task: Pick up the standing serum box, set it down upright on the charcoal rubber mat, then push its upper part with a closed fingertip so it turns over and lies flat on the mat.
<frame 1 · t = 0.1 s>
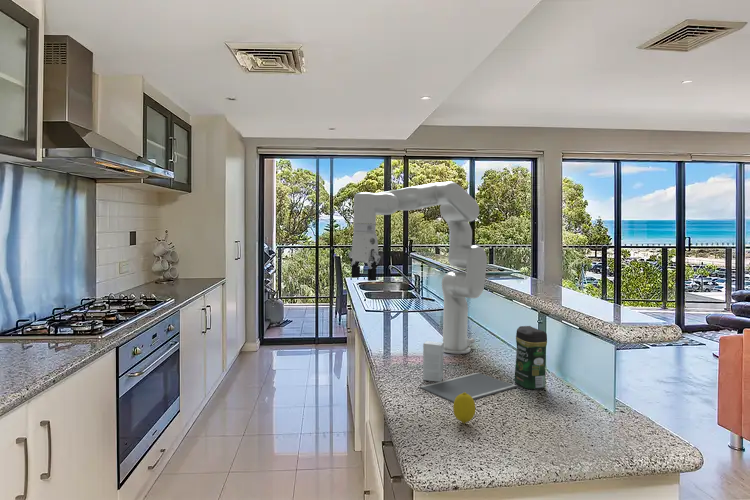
hand: (363, 279, 165), 31 cm above the counter, tool pointing down, fingers open, 9 cm apart
skincare box: (432, 379, 157), on the counter
lemon: (463, 424, 122), on the counter
coffee jar: (529, 385, 152), on the counter
mat: (468, 387, 149), on the counter
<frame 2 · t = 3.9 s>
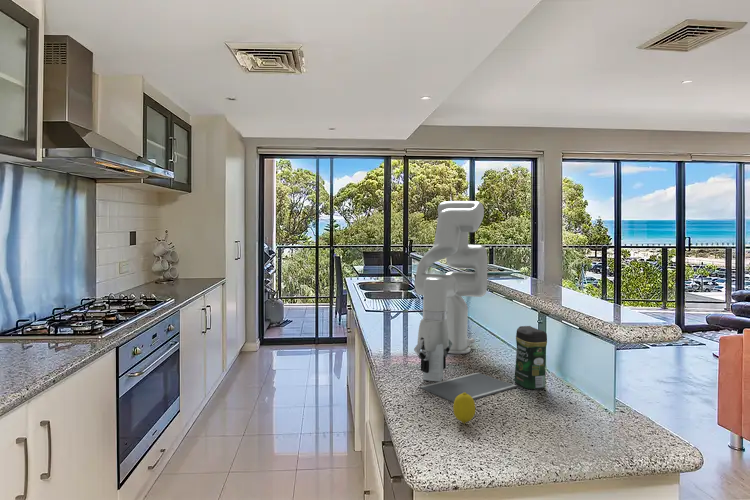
hand: (433, 369, 156), 3 cm above the counter, tool pointing down, fingers closed on skincare box, 6 cm apart
skincare box: (432, 379, 157), on the counter, touching gripper
everything else where it was.
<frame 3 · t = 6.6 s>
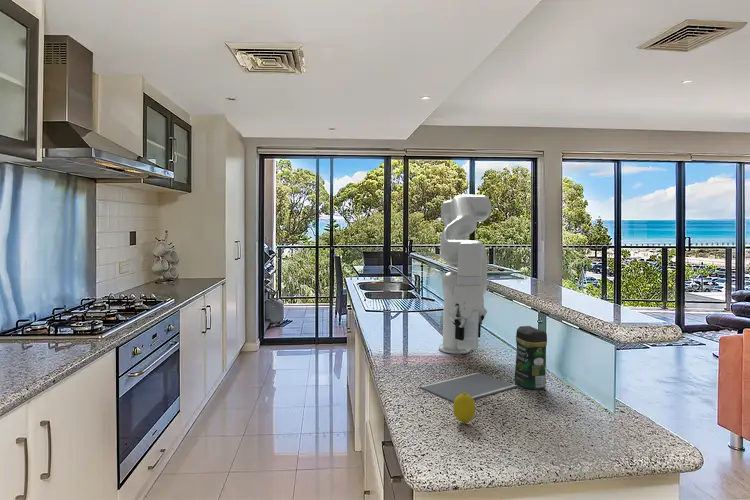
hand: (467, 337, 150), 15 cm above the counter, tool pointing down, fingers closed on skincare box, 6 cm apart
skincare box: (467, 348, 151), point 12 cm above the counter, touching gripper
everything else where it was.
when the fingers open (4 cm above the counter, at t = 9.3 s): skincare box stays where it is, resting on mat.
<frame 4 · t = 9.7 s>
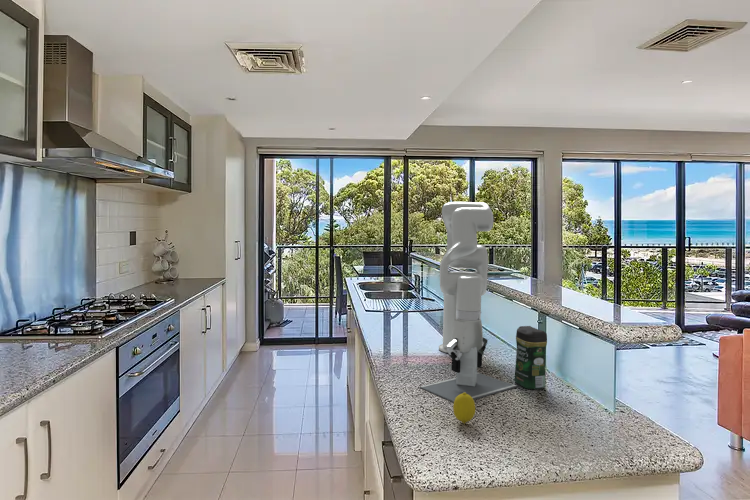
hand: (466, 369, 151), 5 cm above the counter, tool pointing down, fingers open, 9 cm apart
skincare box: (466, 384, 152), resting on mat
everything else where it was.
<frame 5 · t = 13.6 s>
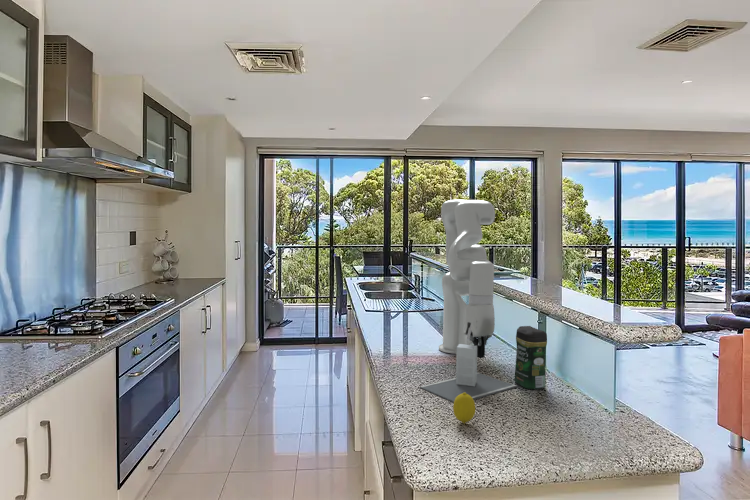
hand: (479, 356, 154), 8 cm above the counter, tool pointing down, fingers closed
nothing on the counter moved.
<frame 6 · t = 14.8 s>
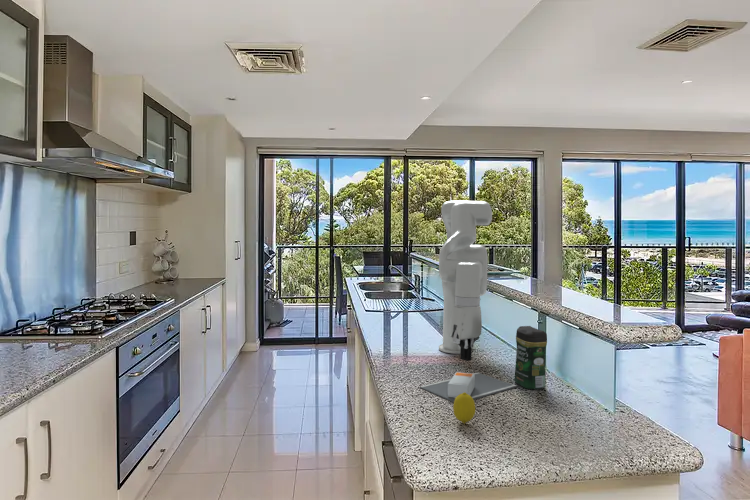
hand: (465, 359, 150), 8 cm above the counter, tool pointing down, fingers closed
skincare box: (465, 378, 150), point 3 cm above the counter, touching mat
everything else where it was.
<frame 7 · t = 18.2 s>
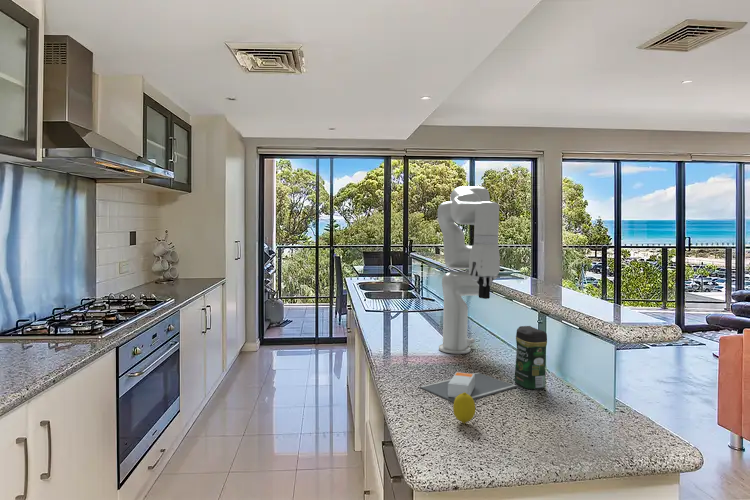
hand: (484, 298, 154), 27 cm above the counter, tool pointing down, fingers closed
nothing on the counter moved.
at the end: skincare box tilted 90°; skincare box inside the target area on the mat (1.1 cm from its centre), point 2.6 cm above the mat's base; the gripper is holding nothing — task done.
